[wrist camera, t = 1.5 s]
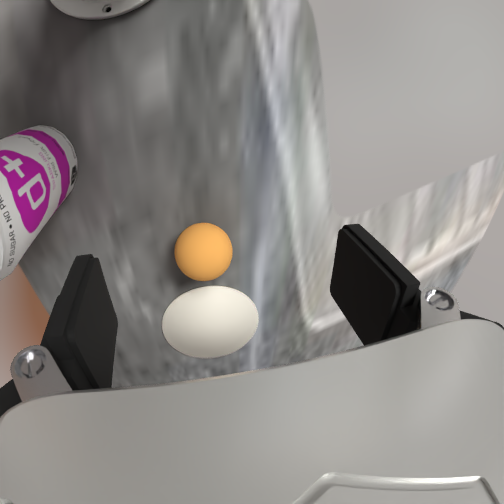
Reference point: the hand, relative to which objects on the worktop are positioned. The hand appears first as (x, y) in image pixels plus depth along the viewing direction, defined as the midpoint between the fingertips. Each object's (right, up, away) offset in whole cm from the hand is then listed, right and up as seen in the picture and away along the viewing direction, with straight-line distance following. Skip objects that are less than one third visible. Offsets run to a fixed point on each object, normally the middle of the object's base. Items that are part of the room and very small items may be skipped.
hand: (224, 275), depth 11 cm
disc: (-4, -8, +28) cm, 29 cm away
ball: (-4, +1, +19) cm, 19 cm away
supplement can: (-19, +9, +14) cm, 25 cm away
